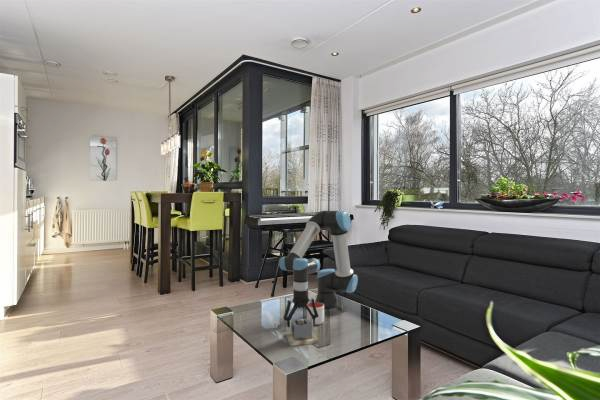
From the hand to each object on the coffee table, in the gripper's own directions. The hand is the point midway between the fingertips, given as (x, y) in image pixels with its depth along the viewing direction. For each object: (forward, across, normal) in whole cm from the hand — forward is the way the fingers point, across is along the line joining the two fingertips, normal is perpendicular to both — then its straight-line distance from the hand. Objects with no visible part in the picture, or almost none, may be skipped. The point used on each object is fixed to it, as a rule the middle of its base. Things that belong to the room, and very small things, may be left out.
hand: (301, 332), depth 181 cm
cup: (+4, -13, -20) cm, 24 cm away
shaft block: (+3, 0, 0) cm, 3 cm away
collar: (+2, 0, 0) cm, 2 cm away
